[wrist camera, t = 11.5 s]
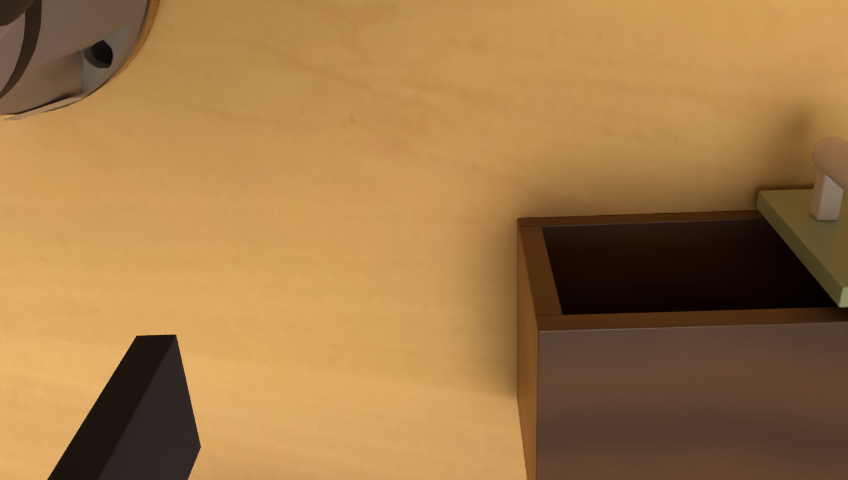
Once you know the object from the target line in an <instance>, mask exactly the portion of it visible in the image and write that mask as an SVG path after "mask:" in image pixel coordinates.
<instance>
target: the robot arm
mask: <svg viewBox="0 0 848 480" xmlns="http://www.w3.org/2000/svg"><path fill="white" fill-rule="evenodd" d="M158 4H159V0H0V115H17V116H14V117H11V118H8V119H4V120H20V119H23V118H26V117H29V116H32V115H35V114H38V113H42V112H47V111H52V110H56V109H59V108H63V107H66V106H69V105H71V104H73V103H75V102H78V101H80V100H82V99H84V98H85V97H87V96H89V95H91V94H92V93H94V92H95V91H96V90H98V89H99V88H101V87H102V86H103V85H105V84H106V83H107V82H109V81H110V80H111V79H113V78H114V77H115V76H117V75H118V74H119V73H120V72H121V71H122V70H123V69H124V68H125V67H126V66H127V65H128V64H129V63H130V62H131V60H132V59H133V58H134V57H135V56H136V54H137V53H138V51H139V50H140V48H141V47H142V45H143V44H144V42H145V40H146V38H147V36H148V34H149V32H150V29H151V27H152V24H153V21H154V19H155V16H156V12H157V8H158ZM1 121H3V120H1ZM200 448H201V445H200V441H199V436H198V432H197V427H196V423H195V418H194V414H193V409H192V405H191V400H190V396H189V391H188V386H187V382H186V377H185V373H184V368H183V364H182V359H181V355H180V350H179V346H178V341H177V337H176V335H145V336H136V338H135V339H134V341H133V343H132V344H131V346H130V348H129V349H128V351H127V352H126V354H125V356H124V357H123V359H122V360H121V362H120V364H119V365H118V367H117V368H116V370H115V372H114V373H113V375H112V377H111V378H110V380H109V381H108V383H107V385H106V386H105V388H104V389H103V391H102V393H101V394H100V396H99V397H98V399H97V401H96V402H95V404H94V406H93V407H92V409H91V410H90V412H89V414H88V415H87V417H86V418H85V420H84V422H83V423H82V425H81V426H80V428H79V430H78V431H77V433H76V434H75V436H74V438H73V439H72V441H71V443H70V444H69V446H68V447H67V449H66V451H65V452H64V454H63V455H62V457H61V459H60V460H59V462H58V463H57V465H56V467H55V468H54V470H53V472H52V473H51V475H50V476H49V478H48V480H188V478H189V475H190V473H191V470H192V468H193V465H194V463H195V460H196V458H197V455H198V453H199V450H200Z"/></svg>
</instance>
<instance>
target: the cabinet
mask: <svg viewBox="0 0 848 480" xmlns="http://www.w3.org/2000/svg"><path fill="white" fill-rule="evenodd" d="M517 402H518V409H519V418H520V426H521V434H522V442H523V450H524V458H525V466H526V474H527V480H848V307H838V305H837V304H836V303H835V302H834V301H833V299H832V298H831V297H830V296H829V295H828V293H827V292H826V291H825V290H824V289H823V287H822V286H821V285H820V284H819V282H818V281H817V280H816V279H815V278H814V276H813V275H812V274H811V273H810V272H809V270H808V269H807V268H806V267H805V266H804V264H803V263H802V262H801V261H800V260H799V258H798V257H797V256H796V255H795V254H794V252H793V251H792V250H791V249H790V247H789V246H788V245H787V244H786V243H785V241H784V240H783V239H782V238H781V237H780V235H779V234H778V233H777V232H776V231H775V229H774V228H773V227H772V226H771V225H770V223H769V222H768V221H767V220H766V219H765V217H764V216H763V215H762V214H761V212H760V211H759V210H758V211H729V212H700V213H672V214H643V215H614V216H585V217H556V218H528V219H518V220H517Z"/></svg>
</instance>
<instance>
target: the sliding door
mask: <svg viewBox="0 0 848 480" xmlns="http://www.w3.org/2000/svg"><path fill="white" fill-rule="evenodd" d="M812 158H813V162H814V164H815V165H816V166H817V172H816V177H815V183H814V189H794V190H766V191H759V193H758V200H757V209H758V210H759V211H760V212H761V214H762V215H763V216H764V217H765V219H766V220H767V221H768V222H769V223H770V225H771V226H772V227H773V228H774V229H775V231H776V232H777V233H778V234H779V235H780V237H781V238H782V239H783V240H784V241H785V243H786V244H787V245H788V246H789V247H790V249H791V250H792V251H793V252H794V254H795V255H796V256H797V257H798V258H799V260H800V261H801V262H802V263H803V264H804V266H805V267H806V268H807V269H808V270H809V272H810V273H811V274H812V275H813V276H814V278H815V279H816V280H817V281H818V282H819V284H820V285H821V286H822V287H823V289H824V290H825V291H826V292H827V293H828V295H829V296H830V297H831V298H832V299H833V301H834V302H835V303H836V304H837V305H838V307H848V143H846V142H845V141H844V140H842V139H840V138H837V137H831V138H827V139H824V140H823V141H821V142H820V143H819V144H818V145H817V146H816V147H815V149H814V151H813V156H812Z"/></svg>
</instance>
